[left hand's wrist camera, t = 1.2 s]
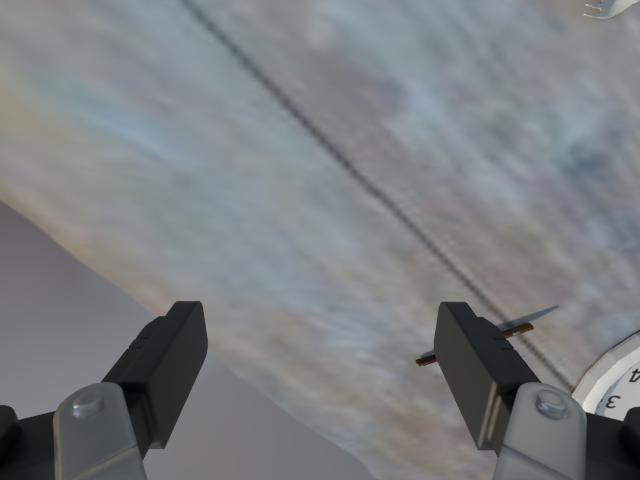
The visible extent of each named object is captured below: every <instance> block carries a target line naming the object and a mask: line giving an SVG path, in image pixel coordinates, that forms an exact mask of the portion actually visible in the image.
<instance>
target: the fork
mask: <svg viewBox="0 0 640 480" xmlns="http://www.w3.org/2000/svg"><path fill="white" fill-rule="evenodd" d="M638 1H640V0H602V3H601V4H586V6H589V7H593V8H598V9H600V10H601V11H600V13H592V14H586V13H585V14H584V15H586V16H590V17H595V18H602V19H606V18H610V17H613V16H615V15H617V14H618V13H620V12H622V11H623V10H625V9H626V8H628V7H629V6H631V5H633V4H634V3H636V2H638Z"/></svg>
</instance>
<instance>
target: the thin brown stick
mask: <svg viewBox="0 0 640 480" xmlns="http://www.w3.org/2000/svg"><path fill="white" fill-rule="evenodd" d="M532 329H534V327H533V326H532V325H531V324H530V323H525V324H523V325H520V326H517V327H514V328H511V329H508V330H505V331H502V334H503V335H504V336H505V337H506V338H509V337H511V336H515V335H519V334H520V333H523V332H526V331H529V330H532ZM433 362H437V359H436V356H435V354H433V355H430V356H427V357H424V358H421V359H418V360H416V363H418V365H419V366H422V365H423V366H424V365H427V364H430V363H433Z"/></svg>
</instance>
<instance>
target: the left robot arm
mask: <svg viewBox="0 0 640 480" xmlns="http://www.w3.org/2000/svg"><path fill="white" fill-rule="evenodd" d="M207 348H208V338H207V332H206V325H205V318H204V312H203V306H202V303H201V302H200V301H177V302H175V303H174V305H173V306H172V307H171V309H170V310H169V311H168V313H167V314H166V316H159V317H157V318H156V319H155V320H153V321H152V322H150V323H149V324H147V325H146V326H145V327H144V328H143V329H142V331H141V332H140V333H139V335H138V336H137V337H136V339H135V340H134V341H133V342H132V343H131V345H130V346H129V349H127V350H126V351H125V352H124V354H123V355H122V356H121V357H120V358H119V360H118V361H117V362H116V364H115V365H114V366H113V367H112V369H111V370H110V371H109V372H108V374H107V375H106V376H105V378H104V379H103V380H102V381H101V383H96V384H92V385H89V386H87V387H84V388H82V389H80V390H78V391H76V392H75V393H73V394H72V395H70V396H69V397H68V398H66V399H65V400H64V401H63V402H62V403H61V404H60V405H59V407H58V408H57V410H56V411H54V412H50V413H46V414H42V415H37V416H33V417H29V418H25V419H21V420H18V418H17V416H16V414H15V411H14V410H13V409H12V408H11V407H9V406H5V405H0V480H148V479H147V476H146V472H145V469H144V465H143V459H144V457H145V455H146V453H147V451H148V449H164V448H165V446H166V444H167V442H168V440H169V437H170V435H171V433H172V431H173V429H174V426H175V424H176V422H177V420H178V417H179V415H180V413H181V411H182V409H183V406H184V404H185V402H186V400H187V398H188V395H189V393H190V391H191V389H192V386H193V384H194V382H195V380H196V378H197V375H198V373H199V371H200V369H201V367H202V364H203V362H204V360H205V357H206V354H207ZM513 348H514V347H513V346H512V345H511V344H510V342H509V341H508V340H506V337H505V336H504V335H503V334H502V332H501V331H500V330H499V329H498V327H497V326H495V325H494V324H492V323H491V322H489V321H488V320H487V319H485V318H484V317H477V316H476V315H475V313H474V312H473V311H472V309H471V308H470V307H469V305H468V304H467V303H466V302H441V304H440V306H439V311H438V317H437V324H436V331H435V337H434V351H435V356H436V359H437V361H438V363H439V366H440V368H441V370H442V372H443V374H444V377H445V379H446V381H447V383H448V385H449V387H450V390H451V392H452V394H453V396H454V398H455V401H456V403H457V405H458V407H459V409H460V412H461V414H462V416H463V418H464V420H465V422H466V425H467V427H468V429H469V431H470V433H471V436H472V438H473V440H474V442H475V444H476V446H477V449H478V450H494V451H495V453H496V455H497V457H498V461H497V465H496V469H495V472H494V476H493V479H492V480H640V407H633V408H631V409H629V410H628V411H627V413H626V416H625V418H624V420H623V421H621V420H617V419H613V418H609V417H604V416H600V415H596V414H592V413H588V412H585V411H584V410H583V408H582V407H581V405H580V404H579V403H578V402H577V401H576V400H575V399H574V398H572V397H571V396H570V395H568V394H567V393H565V392H564V391H562V390H560V389H558V388H556V387H554V386H551V385H548V384H544V383H541V381H540V380H539V379H538V378H537V376H536V375H535V374H534V373H533V371H532V370H531V369H530V368H529V366H528V365H527V364H526V362H525V361H524V360H523V359H522V357H521V356H520V355H519V354H518V352H517V351H516V350H514V349H513Z"/></svg>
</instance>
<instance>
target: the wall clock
mask: <svg viewBox="0 0 640 480" xmlns="http://www.w3.org/2000/svg"><path fill="white" fill-rule="evenodd" d="M572 398H574V399H575V400H576V401H577V402H578V403H579V404H580V405H581V407H582V408H583V410H584V411H585V412H588V413H592V414H596V415H600V416H604V417H609V418H613V419H617V420H621V421H623V420H624V418H625V416H626V413H627V411H628V410H629V409H631V408H633V407H640V332H638V333H636V334H634V335H632V336H631V337H629V338H628V339H626V340H625V341H623V342H622V343H620V344H619V345H617V346H616V347H614V348H613V349H611V350H610V351H608V352H607V353H606V354H605V355H604V356H603V357H602V358H601V359H600V360H599V361H598V362H597V363H596V364H595V365H594V366H593V367H592V368H591V369H589V370H588V371H587V372H586V374H585V375H584V377H583V378H582V380H581V382H580V383H579V385H578V386H577V388H576V389H575V391H574V392H573V394H572Z"/></svg>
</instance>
